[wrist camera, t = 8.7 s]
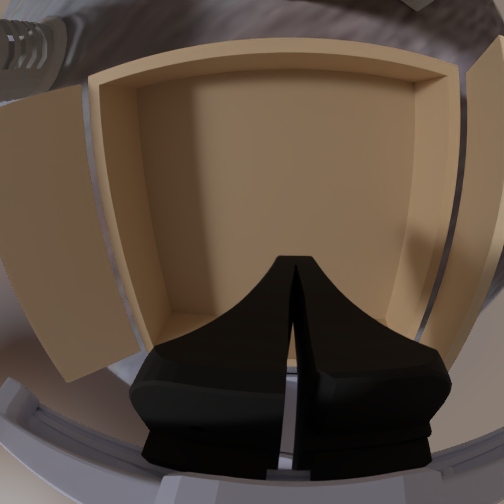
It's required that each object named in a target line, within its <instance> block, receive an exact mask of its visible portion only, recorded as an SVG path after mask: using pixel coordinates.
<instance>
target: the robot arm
mask: <svg viewBox="0 0 504 504" xmlns="http://www.w3.org/2000/svg"><path fill="white" fill-rule="evenodd" d="M292 326H293V327H294V338H295V350H296V361H297V375H295V374H287V359H288V353H289V346H290V340H291V333H292ZM451 386H452V383H451V379H450V377H449V374H448V371H447V369H446V366H445V364H444V362H443V360H442V358H441V356H440V354H439V352H438V350H436V349H434V348H431V347H429V346H426V345H424V344H421V343H419V342H416V341H414V340H411V339H409V338H407V337H405V336H403V335H401V334H399V333H397V332H395V331H393V330H392V329H390V328H388V327H386V326H385V325H383V324H381V323H380V322H378V321H377V320H375V319H374V318H372V317H371V316H369V315H368V314H366V313H365V312H364V311H362V310H361V309H360V308H359V307H357V306H356V305H355V304H354V303H353V302H351V301H350V300H349V299H348V298H347V297H346V296H345V295H344V294H343V293H342V292H341V291H340V290H339V289H338V288H337V287H336V286H335V285H334V284H333V283H332V281H331V280H330V279H329V278H328V277H327V276H326V274H325V273H324V272H323V270H322V269H321V268H320V266H319V265H318V264H317V262H316V261H315V259H314V258H313V257H312V256H288V255H279V256H278V257H276V259H275V261H274V263H273V264H272V266H271V267H270V269H269V270H268V271H267V273H266V274H265V275H264V277H263V278H262V279H261V280H260V282H259V283H258V284H257V285H256V286H255V287H254V288H253V289H252V290H251V291H250V292H249V293H248V294H247V295H246V296H245V297H244V298H243V299H242V300H241V301H240V302H239V303H237V304H236V305H235V306H234V307H232V308H231V309H230V310H228V311H227V312H225V313H224V314H222V315H221V316H219V317H218V318H216V319H215V320H213V321H211V322H209V323H208V324H206V325H204V326H202V327H200V328H198V329H196V330H194V331H192V332H190V333H187V334H185V335H183V336H180V337H178V338H175V339H172V340H170V341H167V342H164V343H161V344H158V345H155V346H154V347H153V349H152V350H151V352H150V353H149V354H148V356H147V357H146V359H145V361H144V363H143V364H142V366H141V368H140V370H139V372H138V374H137V376H136V378H135V380H134V382H133V384H132V386H131V388H130V390H129V398H130V400H131V403H132V405H133V407H134V408H135V410H136V412H137V413H138V414H139V416H140V417H141V419H142V420H143V421H144V423H145V424H146V426H147V427H148V429H149V430H150V432H149V435H148V438H147V440H146V443H145V445H144V447H141V446H138V445H135V444H132V443H129V442H126V441H123V440H120V439H118V438H115V437H112V436H109V435H107V434H104V433H102V432H99V431H97V430H94V429H92V428H90V427H87V426H85V425H83V424H80V423H78V422H76V421H74V420H72V419H70V418H68V417H66V416H64V415H62V414H60V413H58V412H56V411H54V410H52V409H50V408H48V407H46V406H45V405H43V404H41V403H40V402H39V400H38V399H37V397H36V396H35V395H34V394H33V393H32V392H31V391H30V390H29V389H28V388H27V387H26V386H24V385H23V384H21V383H19V382H18V381H16V380H15V379H13V378H11V377H8V379H7V380H6V382H5V383H4V384H3V385H2V387H1V388H0V444H1V445H2V446H3V447H4V448H5V449H6V450H7V451H9V453H10V454H12V455H13V456H14V457H15V458H16V459H17V460H18V461H20V462H21V463H22V464H23V465H24V466H26V467H27V468H28V469H29V470H30V471H32V472H33V473H34V474H36V475H37V476H38V477H40V478H41V479H42V480H44V481H45V482H46V483H48V484H49V485H50V486H52V487H53V488H55V489H56V490H58V491H59V492H61V493H62V494H64V495H65V496H67V497H68V498H70V499H71V500H73V501H75V502H76V503H78V504H497V503H499V502H500V501H502V500H503V499H504V427H502V428H500V429H498V430H495V431H493V432H491V433H488V434H486V435H484V436H481V437H479V438H476V439H473V440H471V441H468V442H465V443H463V444H460V445H457V446H454V447H451V448H447V449H444V450H441V451H438V452H434V453H431V452H430V447H429V442H428V438H427V437H429V436H430V435H431V432H432V430H431V427H430V423H429V421H430V420H431V419H432V417H433V416H434V415H435V414H436V412H437V411H438V410H439V409H440V407H441V406H442V405H443V404H444V402H445V400H446V399H447V397H448V395H449V393H450V391H451Z"/></svg>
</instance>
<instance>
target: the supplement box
mask: <svg viewBox="0 0 504 504" xmlns="http://www.w3.org/2000/svg"><path fill="white" fill-rule="evenodd" d="M401 1H402V2H404V3H405V4H406V5H408V6H409V7H411V8H412V9H413V10H415V11H419V10H421V9H422V8H424V7H425V6H427V5H428V4H430V3H431V2H432V1H434V0H401Z"/></svg>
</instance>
